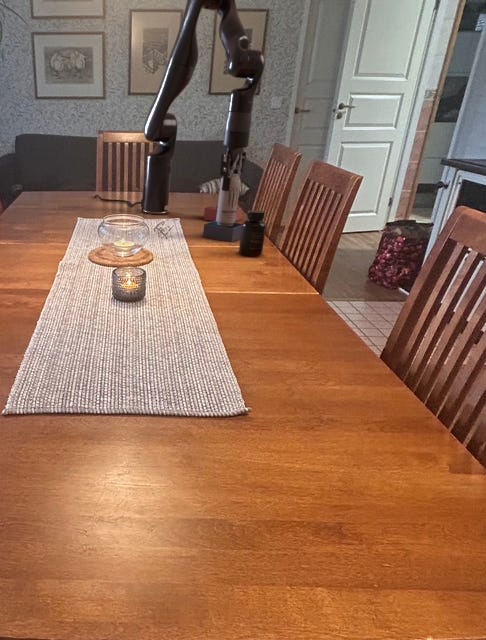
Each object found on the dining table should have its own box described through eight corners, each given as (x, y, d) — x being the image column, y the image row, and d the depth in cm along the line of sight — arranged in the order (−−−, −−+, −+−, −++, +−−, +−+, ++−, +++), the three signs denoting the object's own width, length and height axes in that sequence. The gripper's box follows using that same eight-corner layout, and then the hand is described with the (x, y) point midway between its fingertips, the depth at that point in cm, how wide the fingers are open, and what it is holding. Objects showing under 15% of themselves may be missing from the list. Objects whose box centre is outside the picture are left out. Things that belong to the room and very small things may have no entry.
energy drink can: (221, 226, 189) (228, 175, 181) (212, 223, 194) (218, 172, 186) (237, 226, 191) (245, 175, 183) (228, 222, 196) (234, 172, 188)
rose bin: (203, 219, 219) (204, 207, 217) (215, 215, 227) (216, 204, 224) (229, 223, 215) (230, 211, 212) (239, 219, 222) (241, 208, 220)
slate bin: (202, 237, 193) (204, 224, 191) (215, 232, 201) (217, 219, 198) (231, 241, 189) (233, 228, 186) (243, 236, 196) (245, 224, 194)
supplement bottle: (263, 253, 177) (271, 210, 170) (258, 258, 171) (265, 214, 165) (241, 250, 179) (247, 208, 173) (235, 255, 174) (241, 211, 167)
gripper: (235, 127, 185) (227, 186, 194) (216, 129, 175) (209, 190, 184) (258, 129, 182) (249, 188, 191) (239, 131, 171) (231, 193, 180)
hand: (229, 189), depth 187 cm, fingers closed on energy drink can, 6 cm apart
